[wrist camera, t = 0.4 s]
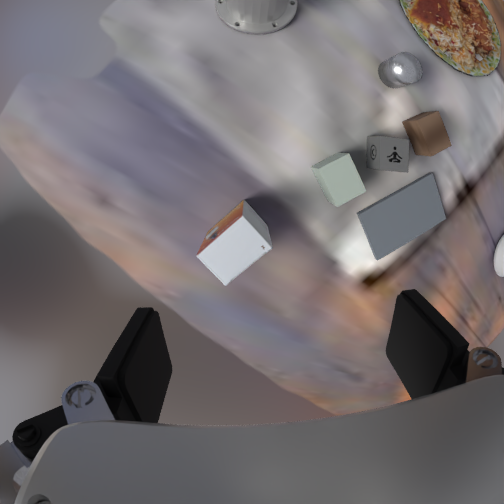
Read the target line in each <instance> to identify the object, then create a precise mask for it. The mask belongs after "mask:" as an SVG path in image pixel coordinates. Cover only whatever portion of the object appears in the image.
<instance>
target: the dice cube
mask: <svg viewBox="0 0 504 504" xmlns="http://www.w3.org/2000/svg"><path fill="white" fill-rule="evenodd" d="M408 166H409V140H407V139H401V138H394V137H386V136H368V137H367V168H372V169H377V170H386V171H397V172H407V173H408Z"/></svg>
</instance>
